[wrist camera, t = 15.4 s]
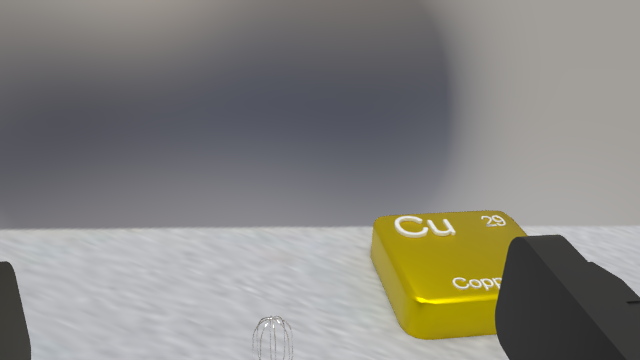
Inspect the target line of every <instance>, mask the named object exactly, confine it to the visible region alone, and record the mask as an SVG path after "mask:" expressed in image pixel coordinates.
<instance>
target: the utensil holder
mask: <svg viewBox="0 0 640 360" xmlns="http://www.w3.org/2000/svg"><path fill="white" fill-rule="evenodd" d="M271 317H272V316H270V317H265V318H269V319H270V320H269V321H270V322H271V319H272V321H273V319H274V320H276V319H280V318H281V317H279V316H275V317H279V318H275V317H273V318H271ZM263 319H264V318H263ZM263 319H261V320H263ZM261 320H260V322H261ZM266 320H268V319H266ZM281 320H282V322H283V321H285V320H283V319H282V318H281ZM264 321H265V320H264ZM269 321H268V322H269ZM276 321H278V320H276ZM260 322H259V324H258V326H259V325H260V324H261V323H262V322H263V321H262V322H261V323H260ZM268 322H267V324H268ZM278 322H279V321H278ZM285 322H286V321H285ZM279 323H280V322H279ZM286 323H287V322H286ZM267 324H266V325H267ZM280 324H281V323H280ZM287 324H288V323H287ZM266 325H265V327H266ZM281 325H282V324H281ZM283 325H284V322H283ZM283 325H282V326H283ZM288 325H289V324H288ZM258 326H257V327H256V329H257V350H258ZM265 327H264V329H265ZM273 327H274V322H273ZM289 327H290V325H289ZM283 328H284V356H285V332H286V330H285V327H284V326H283ZM256 329H255V330H256ZM264 329H263V331H264ZM290 329H291V327H290ZM254 333H255V331H254ZM262 334H263V332H262ZM286 334H287V332H286ZM291 334H292V330H291ZM274 336H275V328H274ZM287 337H288V334H287ZM261 339H262V335H261ZM288 347H289V338H288ZM270 351H271V326H270ZM258 357H259V353H258ZM292 358H293V336H292ZM253 360H254V334H253ZM259 360H261V341H260V358H259ZM271 360H272V356H271ZM275 360H276V339H275ZM283 360H284V358H283ZM289 360H290V351H289ZM291 360H292V359H291Z"/></svg>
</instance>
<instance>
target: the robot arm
mask: <svg viewBox="0 0 640 360" xmlns="http://www.w3.org/2000/svg"><path fill="white" fill-rule="evenodd" d="M495 327H496V332H497V336H498V339H499V342H500V344H501V346H502V348H503V350H504V351H505V353H506V355H507V356H508V358H509V360H640V297H639V296H638V295H637V294H636V293H635V292H634V291H633V290H632V289H631V288H630V287H629V286H628V285H627V284H626V283H625V282H624V281H623V280H622V279H620V278H618V277H617V276H615V275H613V274H612V273H610V272H608V271H607V270H605V269H603V268H602V267H600V266H598V265H597V264H595V263H593V262H588V261H587V260H586V259H585V258H584V257H583V256H582V255H581V254H580V253H579V252H578V251H577V250H576V249H575V248H574V247H573V246H572V245H571V244H570V243H569V242H568V241H567V239H565V238H564V237H563V236H561V235H542V236H522V237H515V238H514V239H513V240H512V241H511V243H510V245H509V248H508V252H507V256H506V261H505V266H504V270H503V275H502V280H501V285H500V289H499V294H498V299H497V303H496V308H495ZM0 360H31V345H30V339H29V334H28V330H27V325H26V321H25V316H24V312H23V307H22V303H21V298H20V294H19V289H18V285H17V280H16V276H15V272H14V269H13V267H12V265H11V264H10V263H9V262H0Z"/></svg>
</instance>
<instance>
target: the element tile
mask: <svg viewBox="0 0 640 360" xmlns="http://www.w3.org/2000/svg"><path fill="white" fill-rule="evenodd" d="M522 236H528V235H527V234H526V233H525V232H524V231H523V230H522V229H521V228H520V227H519V225H518V224H517V223H516V222H515V221H514V220H513V219H512V218H511V217H509V216H508V215H507V214H505V213H503V212H501V211H467V212H447V213H427V214H408V215H389V216H383V217H379V218H378V219H376V220H375V222H374V225H373V234H372V246H371V259H372V261H373V264H374V266H375V268H376V271H377V273H378V275H379V278H380V280H381V282H382V285H383V287H384V289H385V292H386V294H387V296H388V299H389V301H390V303H391V306H392V308H393V310H394V313H395V315H396V317H397V320H398V322H399V324H400V326H401V328H402V329H403V330H404V331H405V332H406V333H407V334H408V335H411V336H413V337H415V338H419V339H424V340H434V339H446V338H458V337H470V336H481V335H493V334H497V332H496V327H495V308H496V303H497V299H498V294H499V289H500V285H501V280H502V275H503V270H504V266H505V261H506V256H507V252H508V248H509V245H510V243H511V241H512V240H513V239H514V238H515V237H522Z"/></svg>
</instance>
